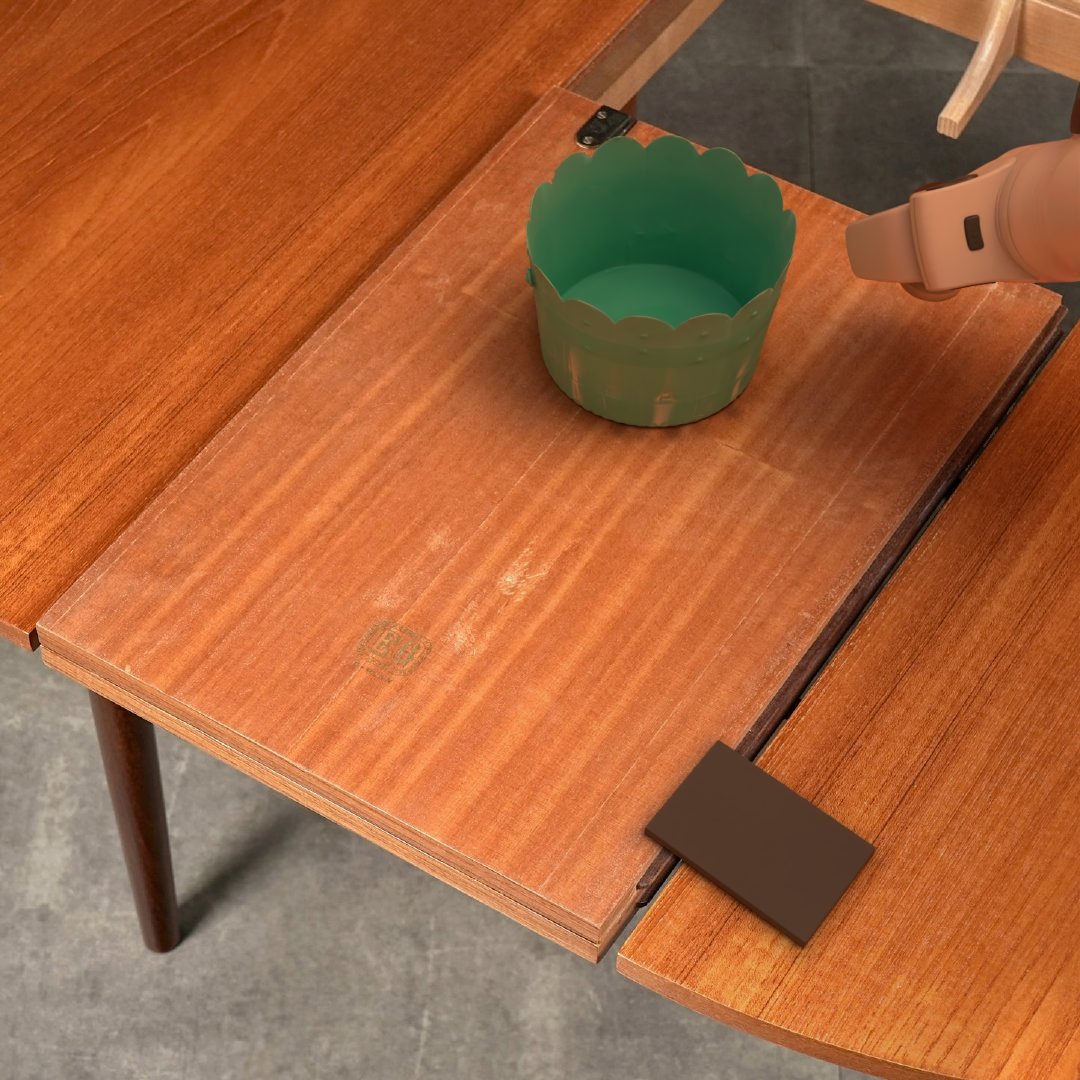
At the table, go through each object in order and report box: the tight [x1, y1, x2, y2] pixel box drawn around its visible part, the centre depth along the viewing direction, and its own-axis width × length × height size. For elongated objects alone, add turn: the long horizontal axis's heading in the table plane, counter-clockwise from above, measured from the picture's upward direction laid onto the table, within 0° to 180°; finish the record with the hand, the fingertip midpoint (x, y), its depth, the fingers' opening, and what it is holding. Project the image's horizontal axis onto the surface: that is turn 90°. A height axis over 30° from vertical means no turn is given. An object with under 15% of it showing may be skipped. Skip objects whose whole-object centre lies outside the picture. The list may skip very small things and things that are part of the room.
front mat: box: [644, 739, 877, 948], centre depth 106 cm, size 12×8×1 cm, turn 52°
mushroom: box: [899, 180, 962, 303], centre depth 123 cm, size 6×6×8 cm
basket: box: [524, 134, 798, 428], centre depth 124 cm, size 19×18×13 cm
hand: (940, 221), depth 122 cm, fingers closed on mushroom, 6 cm apart
